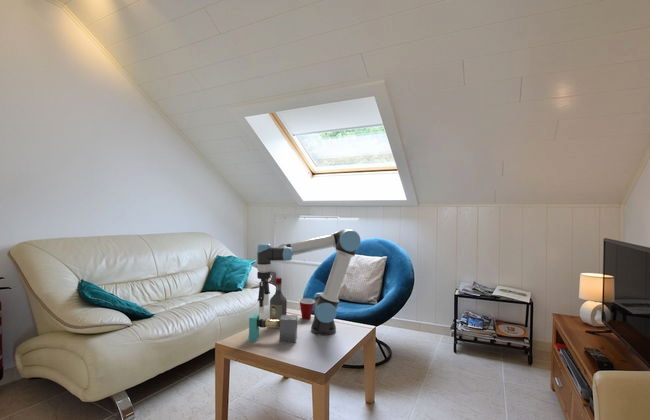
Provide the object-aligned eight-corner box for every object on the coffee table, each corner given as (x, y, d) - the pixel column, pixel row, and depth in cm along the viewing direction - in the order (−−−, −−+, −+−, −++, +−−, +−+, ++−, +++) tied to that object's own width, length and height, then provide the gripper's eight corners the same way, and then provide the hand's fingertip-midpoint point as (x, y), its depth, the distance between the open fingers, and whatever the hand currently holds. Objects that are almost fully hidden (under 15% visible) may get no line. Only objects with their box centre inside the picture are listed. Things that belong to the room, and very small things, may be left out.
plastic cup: (308, 321, 226) (308, 303, 226) (295, 318, 232) (295, 300, 232) (317, 317, 235) (317, 299, 235) (304, 314, 241) (305, 297, 241)
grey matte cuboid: (297, 337, 198) (297, 315, 198) (295, 342, 190) (296, 319, 190) (281, 336, 198) (281, 314, 198) (279, 342, 190) (279, 319, 190)
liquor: (276, 322, 223) (276, 276, 223) (287, 324, 219) (288, 277, 219) (267, 326, 215) (268, 278, 215) (279, 329, 211) (280, 280, 211)
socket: (259, 336, 198) (259, 313, 198) (256, 341, 190) (256, 318, 190) (252, 336, 198) (252, 313, 198) (248, 341, 190) (249, 318, 190)
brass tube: (284, 326, 196) (284, 318, 196) (283, 329, 192) (283, 320, 192) (254, 325, 196) (254, 317, 196) (252, 328, 192) (252, 320, 192)
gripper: (261, 267, 207) (261, 302, 207) (252, 275, 182) (252, 315, 182) (274, 267, 206) (274, 302, 207) (266, 275, 182) (266, 315, 182)
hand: (264, 308), depth 194 cm, fingers open, 13 cm apart
